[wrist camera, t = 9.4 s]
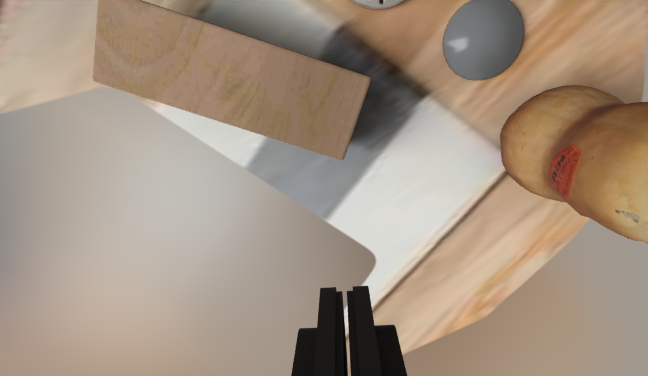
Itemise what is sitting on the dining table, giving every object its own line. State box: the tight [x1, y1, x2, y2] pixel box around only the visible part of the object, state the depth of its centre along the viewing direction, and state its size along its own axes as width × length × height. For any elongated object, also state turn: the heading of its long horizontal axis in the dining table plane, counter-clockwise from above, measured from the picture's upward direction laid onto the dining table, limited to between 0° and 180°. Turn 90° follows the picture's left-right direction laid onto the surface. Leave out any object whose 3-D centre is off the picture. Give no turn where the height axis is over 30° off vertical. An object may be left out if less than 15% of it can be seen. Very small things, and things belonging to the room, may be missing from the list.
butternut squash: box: [500, 86, 648, 243], centre depth 34 cm, size 14×13×25 cm
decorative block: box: [93, 0, 371, 160], centre depth 40 cm, size 10×10×30 cm
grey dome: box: [443, 0, 524, 80], centre depth 42 cm, size 10×10×1 cm
